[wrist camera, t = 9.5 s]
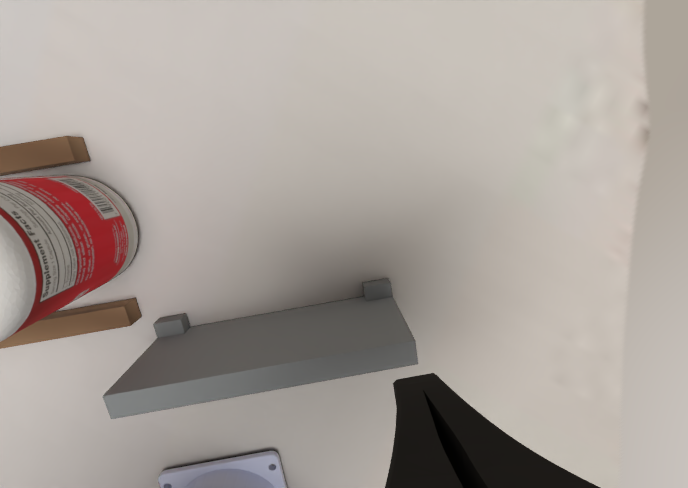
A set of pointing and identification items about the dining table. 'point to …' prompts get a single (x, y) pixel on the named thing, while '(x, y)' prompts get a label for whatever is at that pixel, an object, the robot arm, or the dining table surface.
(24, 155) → the walnut bracket
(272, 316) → the slate screen
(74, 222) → the pill bottle
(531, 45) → the dining table surface
